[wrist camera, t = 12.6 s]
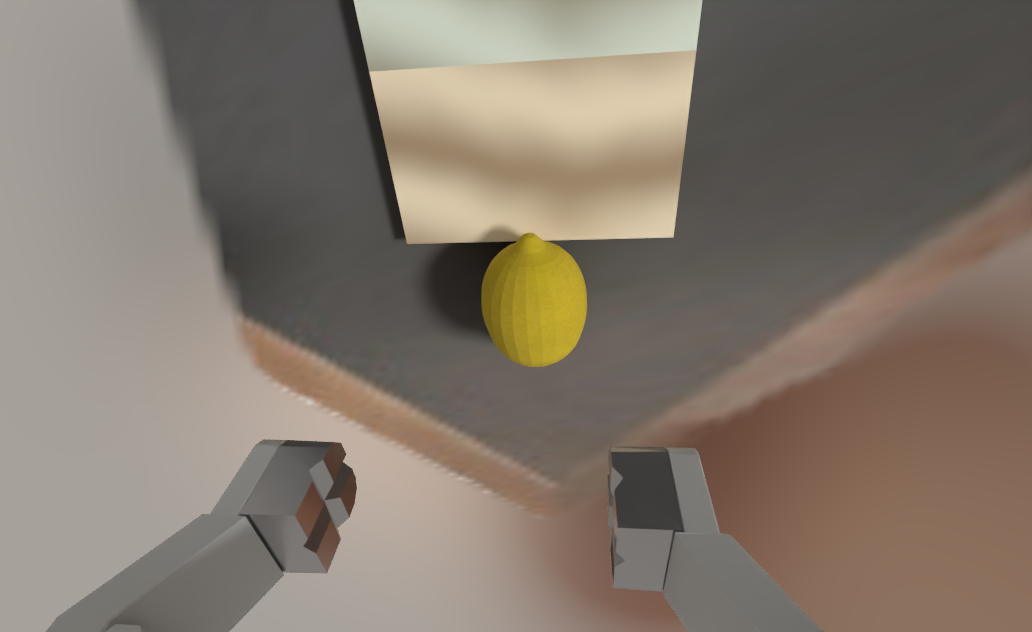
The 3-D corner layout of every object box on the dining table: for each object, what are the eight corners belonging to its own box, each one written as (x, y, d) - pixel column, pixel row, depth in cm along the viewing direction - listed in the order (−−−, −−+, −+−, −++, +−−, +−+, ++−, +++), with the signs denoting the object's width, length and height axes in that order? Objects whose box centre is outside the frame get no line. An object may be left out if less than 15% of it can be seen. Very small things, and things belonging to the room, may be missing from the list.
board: (321, -193, 18) (309, -200, 17) (725, -245, 16) (733, -255, 16) (411, 235, 28) (407, 243, 27) (670, 228, 26) (673, 237, 25)
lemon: (461, 223, 26) (481, 345, 30) (487, 271, 21) (505, 406, 26) (561, 203, 27) (566, 324, 31) (606, 244, 22) (604, 378, 27)
